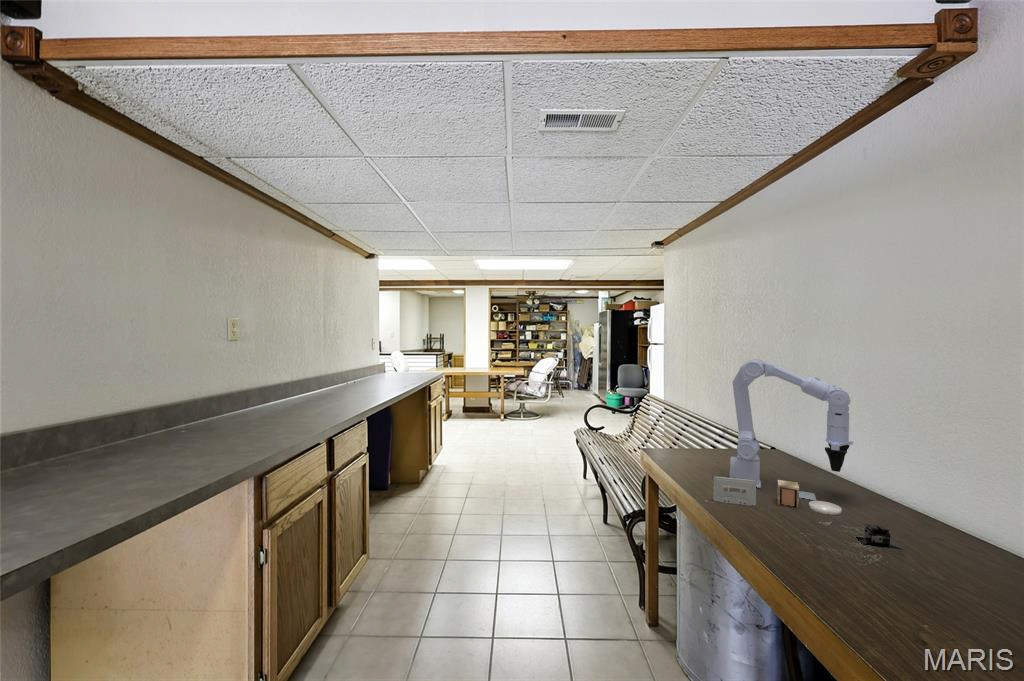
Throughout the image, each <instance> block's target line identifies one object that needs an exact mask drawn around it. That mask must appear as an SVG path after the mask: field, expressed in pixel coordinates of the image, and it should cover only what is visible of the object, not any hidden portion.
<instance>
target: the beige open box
mask: <svg viewBox="0 0 1024 681" xmlns="http://www.w3.org/2000/svg"><path fill="white" fill-rule="evenodd" d="M781 487H782V488H788V489H795V507H796V509H799V508H800V505H799V504H800V501H799V500H800V498H799V491H800V486H799V482H797V481H790V480H789V481H788V480H784V479H783V480H781V479H777V505H778V506H780V505H781V500H780V499H781Z"/></svg>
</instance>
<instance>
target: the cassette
mask: <svg viewBox="0 0 1024 681" xmlns="http://www.w3.org/2000/svg"><path fill="white" fill-rule="evenodd" d="M730 489H739V491H736V490H735V491H734V490H730ZM743 490H745V491H743ZM712 495H713V498H712V499H713V501H714V502H719V503H724V504H726V503H727V504H734V505H740V504H741V505H742V506H752V505H753V506H754V507H755V506H757V488H756V481H755V480H746V479H736V478H730V477H725V476H716V475H714V476H713V494H712Z"/></svg>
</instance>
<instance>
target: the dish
mask: <svg viewBox="0 0 1024 681" xmlns="http://www.w3.org/2000/svg"><path fill="white" fill-rule="evenodd" d="M808 508H809V509H810V510H812V511H813V512H816V513H819V514H822V515H823V514H824V515H828V514H829V515H830V516H839V515H841V514H842V507H841V506H839V505H838V504H835V503H832V502H828V501H822V500H816V501H815V500H810V501H809V502H808ZM829 515H828V516H829Z"/></svg>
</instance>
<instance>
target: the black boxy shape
mask: <svg viewBox="0 0 1024 681" xmlns="http://www.w3.org/2000/svg"><path fill="white" fill-rule="evenodd" d="M865 524H866V525H865V527H864V530H863V531H864V536H861V537H860V536H859V535H855V536H856V538H857V539H858V541H860V542H861V544H863V545H862V546H866V545H871V546H870V547H875V546H876V547H877V548H886V549H895V550H903V551H905V550H906V549H905V548H904V547H902V546H901V545H900V544H899V543H897V542H896V541H895V540H894V539H891V536H892V535H891V533H890V530H889V529H888V528H887V527H886V526H884V525H883V524H872V523H865Z"/></svg>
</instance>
